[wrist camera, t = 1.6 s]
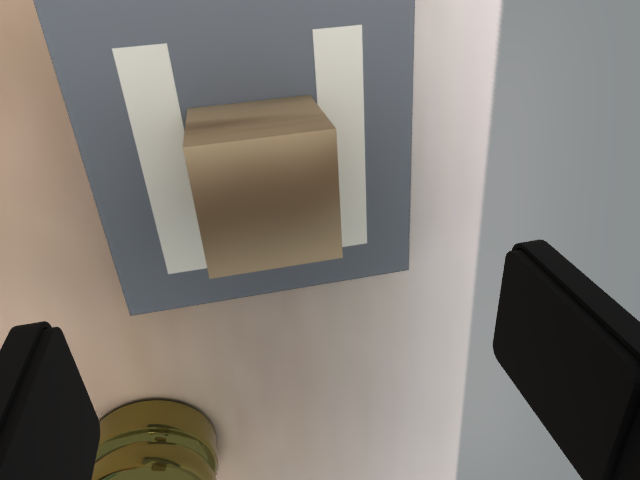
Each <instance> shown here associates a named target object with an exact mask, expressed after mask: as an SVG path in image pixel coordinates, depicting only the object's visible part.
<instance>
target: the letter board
mask: <svg viewBox="0 0 640 480" xmlns="http://www.w3.org/2000/svg"><path fill="white" fill-rule="evenodd" d="M33 1H34V4H35V8H36V11H37V14H38V17H39V21H40V24H41V27H42V30H43V34H44V37H45V40H46V43H47V47H48V50H49V53H50V56H51V60H52V63H53V66H54V69H55V73H56V76H57V79H58V82H59V86H60V89H61V92H62V95H63V99H64V102H65V105H66V108H67V112H68V115H69V118H70V121H71V125H72V128H73V131H74V134H75V138H76V141H77V144H78V147H79V151H80V154H81V157H82V160H83V164H84V167H85V170H86V173H87V177H88V180H89V183H90V186H91V190H92V193H93V196H94V199H95V203H96V206H97V209H98V212H99V216H100V219H101V222H102V225H103V229H104V232H105V235H106V238H107V242H108V245H109V248H110V251H111V255H112V258H113V261H114V264H115V268H116V271H117V274H118V277H119V281H120V284H121V287H122V290H123V294H124V297H125V300H126V303H127V307H128V310H129V313H130V316H132V315H138V314H144V313H151V312H157V311H163V310H169V309H175V308H181V307H187V306H193V305H199V304H205V303H211V302H217V301H223V300H229V299H235V298H241V297H247V296H254V295H260V294H266V293H272V292H278V291H284V290H290V289H296V288H302V287H308V286H314V285H320V284H326V283H332V282H338V281H344V280H350V279H357V278H363V277H369V276H375V275H381V274H387V273H393V272H399V271H405V270H409V233H410V190H411V146H412V103H413V60H414V16H415V0H33ZM303 95H310V96H311V97H312V98H313V99H314V101H315V102H316V103H317V105H318V106H319V107H320V108H321V110H322V111H323V112H324V114H325V115H326V116H327V117H328V119H329V120H330V121H331V123H332V124H333V125H334V126H335V128H336V133H337V153H338V172H339V192H340V212H341V231H342V251H343V258H338V259H332V260H326V261H319V262H313V263H307V264H301V265H294V266H288V267H282V268H275V269H269V270H263V271H256V272H250V273H244V274H238V275H231V276H225V277H219V278H212V279H209V274H208V269H207V264H206V260H205V255H204V250H203V245H202V240H201V235H200V230H199V225H198V220H197V215H196V211H195V206H194V201H193V196H192V191H191V186H190V181H189V176H188V171H187V167H186V162H185V157H184V152H183V141H184V133H185V125H186V117H187V109H188V108H197V107H206V106H215V105H224V104H232V103H241V102H250V101H259V100H268V99H277V98H286V97H294V96H303Z"/></svg>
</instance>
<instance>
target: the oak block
mask: <svg viewBox="0 0 640 480" xmlns="http://www.w3.org/2000/svg"><path fill="white" fill-rule="evenodd" d="M183 152H184V157H185V162H186V167H187V171H188V176H189V181H190V186H191V191H192V196H193V201H194V206H195V211H196V215H197V220H198V225H199V230H200V235H201V240H202V245H203V250H204V255H205V260H206V264H207V269H208V274H209V279H212V278H219V277H225V276H231V275H238V274H244V273H250V272H256V271H263V270H269V269H275V268H282V267H288V266H294V265H301V264H307V263H313V262H319V261H326V260H332V259H338V258H343V251H342V231H341V212H340V192H339V172H338V153H337V133H336V128H335V126H334V125H333V124H332V123H331V121H330V120H329V119H328V117H327V116H326V115H325V114H324V112H323V111H322V110H321V108H320V107H319V106H318V105H317V103H316V102H315V101H314V99H313V98H312V97H311V96H310V95H303V96H294V97H286V98H277V99H268V100H259V101H250V102H241V103H232V104H224V105H215V106H206V107H197V108H188V109H187V117H186V125H185V133H184V141H183Z"/></svg>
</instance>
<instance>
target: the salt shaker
mask: <svg viewBox="0 0 640 480" xmlns="http://www.w3.org/2000/svg"><path fill="white" fill-rule="evenodd" d="M99 424H100V441H99V446H98V451H97V456H96V460H95V465H94V470H93V475H92V480H216V475H217V471H218V459H217V454H216V434H215V431H214V428H213V426H212V425H211V423H210V422H209V421H208V419H207V418H206V417H205V416H204V415H202V414H201V413H200V412H198V411H197V410H195V409H193V408H191V407H189V406H187V405H184V404H181V403H177V402H172V401H163V400H152V401H142V402H137V403H133V404H130V405H127V406H124V407H122V408H119V409H117V410H115V411H113V412H112V413H110V414H109V415H107V416H106V417H105V418H103V419H102V420H101V421H100V422H99Z"/></svg>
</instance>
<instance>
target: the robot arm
mask: <svg viewBox="0 0 640 480" xmlns="http://www.w3.org/2000/svg"><path fill="white" fill-rule="evenodd" d="M493 350H494V354H495V356H496V358H497V360H498V362H499V363H500V364H501V366H502V367H503V369H504V370H505V371H506V373H507V374H508V376H509V377H510V379H511V380H512V381H513V383H514V384H515V385H516V387H517V388H518V390H519V391H520V392H521V394H522V395H523V397H524V398H525V400H526V401H527V402H528V404H529V405H530V407H531V408H532V409H533V411H534V412H535V413H536V415H537V416H538V418H539V419H540V420H541V422H542V423H543V425H544V426H545V427H546V429H547V430H548V432H549V433H550V434H551V436H552V437H553V439H554V440H555V441H556V443H557V444H558V446H559V447H560V449H561V450H562V451H563V453H564V454H565V455H566V457H567V458H568V460H569V461H570V463H571V464H572V465H573V467H574V468H575V469H576V471H577V472H578V474H579V475H580V477H581V478H582V479H583V480H640V322H639V321H638V320H637V319H636V318H635V317H633V316H632V315H631V314H630V313H629V312H627V311H626V310H625V309H624V308H623V307H622V306H621V305H619V304H618V303H617V302H616V301H615V300H614V299H612V298H611V297H610V296H609V295H608V294H607V293H605V292H604V291H603V290H602V289H601V288H599V287H598V286H597V285H596V284H595V283H594V282H593V281H591V280H590V279H589V278H588V277H587V276H585V275H584V274H583V273H582V272H581V271H580V270H579V269H577V268H576V267H575V266H574V265H573V264H572V263H570V262H569V261H568V260H567V259H566V258H565V257H563V256H562V255H561V254H560V253H559V252H558V251H556V250H555V249H554V248H553V247H552V246H551V245H549V244H548V243H547V242H546V241H544V240H535V241H529V242H523V243H518V244H515V245H514V247H513V248H512V251H509V252H508V253H507V254H506V258H505V265H504V271H503V278H502V285H501V293H500V298H499V305H498V312H497V319H496V326H495V332H494V340H493ZM99 441H100V424H99V420H98V417H97V415H96V412H95V410H94V407H93V405H92V403H91V400H90V398H89V395H88V393H87V390H86V388H85V386H84V383H83V381H82V378H81V376H80V373H79V371H78V369H77V366H76V364H75V361H74V359H73V356H72V354H71V352H70V349H69V347H68V344H67V342H66V339H65V337H64V335H63V332H62V330H61V329H60V328H59V327H53V328H52V327H51V325H50V324H49V323H48V322H45V321H44V322H38V323H32V324H26V325H20V326H15V327H13V328H12V329H11V330H10V332H9V334H8V336H7V338H6V340H5V342H4V344H3V346H2V348H1V350H0V480H92V475H93V470H94V465H95V460H96V456H97V451H98V446H99Z"/></svg>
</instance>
